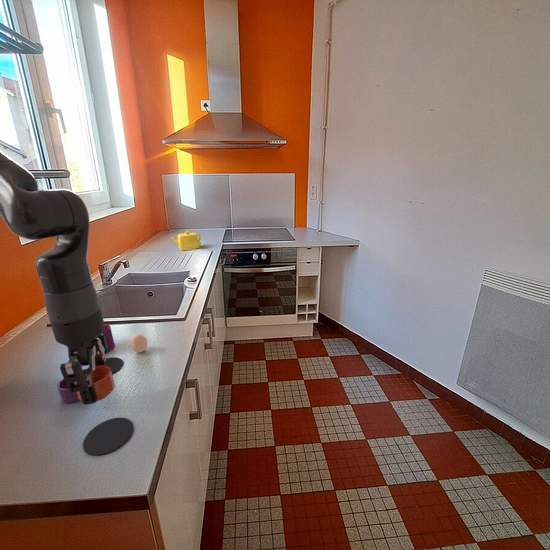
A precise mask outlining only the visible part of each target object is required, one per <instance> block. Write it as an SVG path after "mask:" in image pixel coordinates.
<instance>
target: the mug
mask: <svg viewBox="0 0 550 550" xmlns="http://www.w3.org/2000/svg"><path fill="white" fill-rule="evenodd" d="M104 324H105V335H106V340H107V346H108V353H111V351H113V350H114V349H115V347H116V345H115V341H114V337H113V331H112V328H111V325H110V324H108V323H104ZM102 346H103V345H102Z"/></svg>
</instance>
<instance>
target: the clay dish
mask: <svg viewBox="0 0 550 550" xmlns="http://www.w3.org/2000/svg"><path fill="white" fill-rule="evenodd" d="M84 375H85V378H86V380H87V375H86V374H84ZM92 375H93V384H94V387H95V391H96V395H97V401H96V402H99V401H102V400H103V399H105V398H107V397H108V396H110V394H112V392H114V390H115V387H116V384H115V380H114V376H113V374H112V372H111V368H110V367H108V366H104V365H100V366H95V371H94V372H93V373H92ZM74 384H75V383H74ZM77 394H78V398H79V400H78V401H81V402H82V399H81V395H80V392H77Z"/></svg>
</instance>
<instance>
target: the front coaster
mask: <svg viewBox="0 0 550 550" xmlns="http://www.w3.org/2000/svg"><path fill="white" fill-rule="evenodd" d="M133 433H134V424H133V421H131V419H129V418H126V417H114V418H113V417H112V418H109V419H107V420H104V421H102V422H101V423H99V424H97V425H96V426H94V427H93V428H92V429H91V430H90V431H89V432H88V433H87V434H86V436H85V438H84V439H83V442H82V448H83V450H84V452H85V453H86V454H88V455H89V456H95V457H98V456H104V455H108V454H110V453H112V452H115V451H117V450H119V449H120V448H121V447H122V446H124V445H125V444H126V443H127V442H128V441H129V440H130V438H131V437H132V435H133Z"/></svg>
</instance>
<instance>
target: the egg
mask: <svg viewBox="0 0 550 550" xmlns="http://www.w3.org/2000/svg"><path fill="white" fill-rule="evenodd" d="M147 347H148V341H147V338H146V337H145V336H144V335H143V334H140V333H137V334H135V335H133V337H132V338H131V340H130V348H131V350H132V351H133V352H134V353H136V354H137V353H138V354H139V353H143V352H144V351H145V350H146V349H147Z"/></svg>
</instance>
